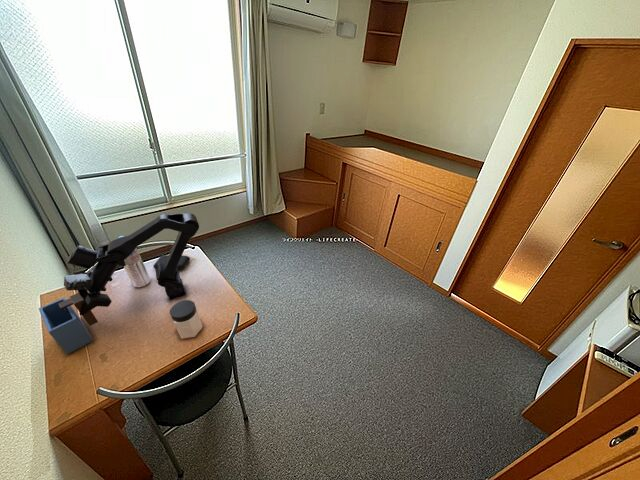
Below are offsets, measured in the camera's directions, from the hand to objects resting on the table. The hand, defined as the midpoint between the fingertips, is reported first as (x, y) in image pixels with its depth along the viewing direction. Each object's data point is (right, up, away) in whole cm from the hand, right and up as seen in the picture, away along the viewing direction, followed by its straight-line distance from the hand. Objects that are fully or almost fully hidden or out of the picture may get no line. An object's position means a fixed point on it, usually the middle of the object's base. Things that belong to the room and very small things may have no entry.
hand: (78, 310), depth 89 cm
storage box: (-4, -10, +2) cm, 11 cm away
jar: (+36, -9, +8) cm, 38 cm away
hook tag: (-1, -6, +4) cm, 7 cm away
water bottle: (+4, +5, +26) cm, 27 cm away
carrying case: (+12, +12, +36) cm, 40 cm away
